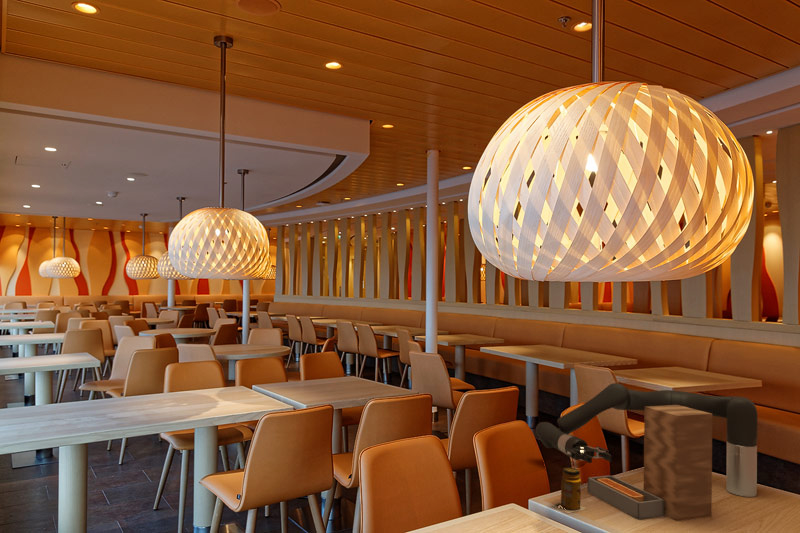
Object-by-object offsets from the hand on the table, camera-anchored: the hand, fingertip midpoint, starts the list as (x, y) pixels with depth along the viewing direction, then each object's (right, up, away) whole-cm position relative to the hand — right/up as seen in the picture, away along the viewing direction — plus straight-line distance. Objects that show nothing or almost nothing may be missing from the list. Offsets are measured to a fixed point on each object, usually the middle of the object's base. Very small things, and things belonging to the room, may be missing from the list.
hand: (601, 459), depth 201 cm
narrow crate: (+3, -10, -9) cm, 14 cm away
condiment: (-16, -11, -16) cm, 25 cm away
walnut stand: (+19, -11, -15) cm, 27 cm away
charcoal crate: (+4, -11, -11) cm, 16 cm away
